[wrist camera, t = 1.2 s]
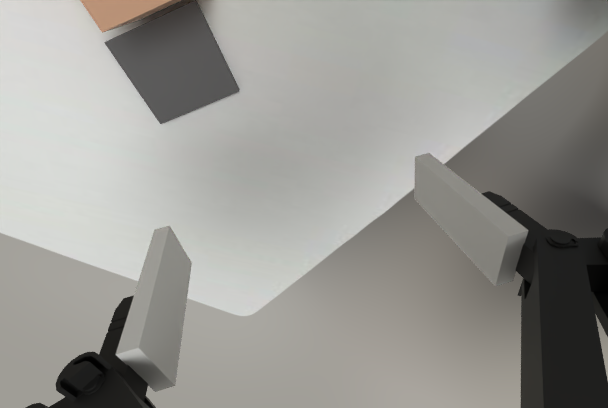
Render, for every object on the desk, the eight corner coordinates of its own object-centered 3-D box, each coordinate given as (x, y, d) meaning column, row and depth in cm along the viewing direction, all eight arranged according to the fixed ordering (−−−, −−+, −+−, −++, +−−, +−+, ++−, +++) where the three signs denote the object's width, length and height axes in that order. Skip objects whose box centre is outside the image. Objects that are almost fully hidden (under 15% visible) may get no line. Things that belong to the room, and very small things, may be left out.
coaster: (196, 0, 33) (194, 0, 32) (239, 89, 39) (239, 91, 38) (107, 41, 34) (104, 42, 34) (162, 121, 40) (160, 124, 39)
